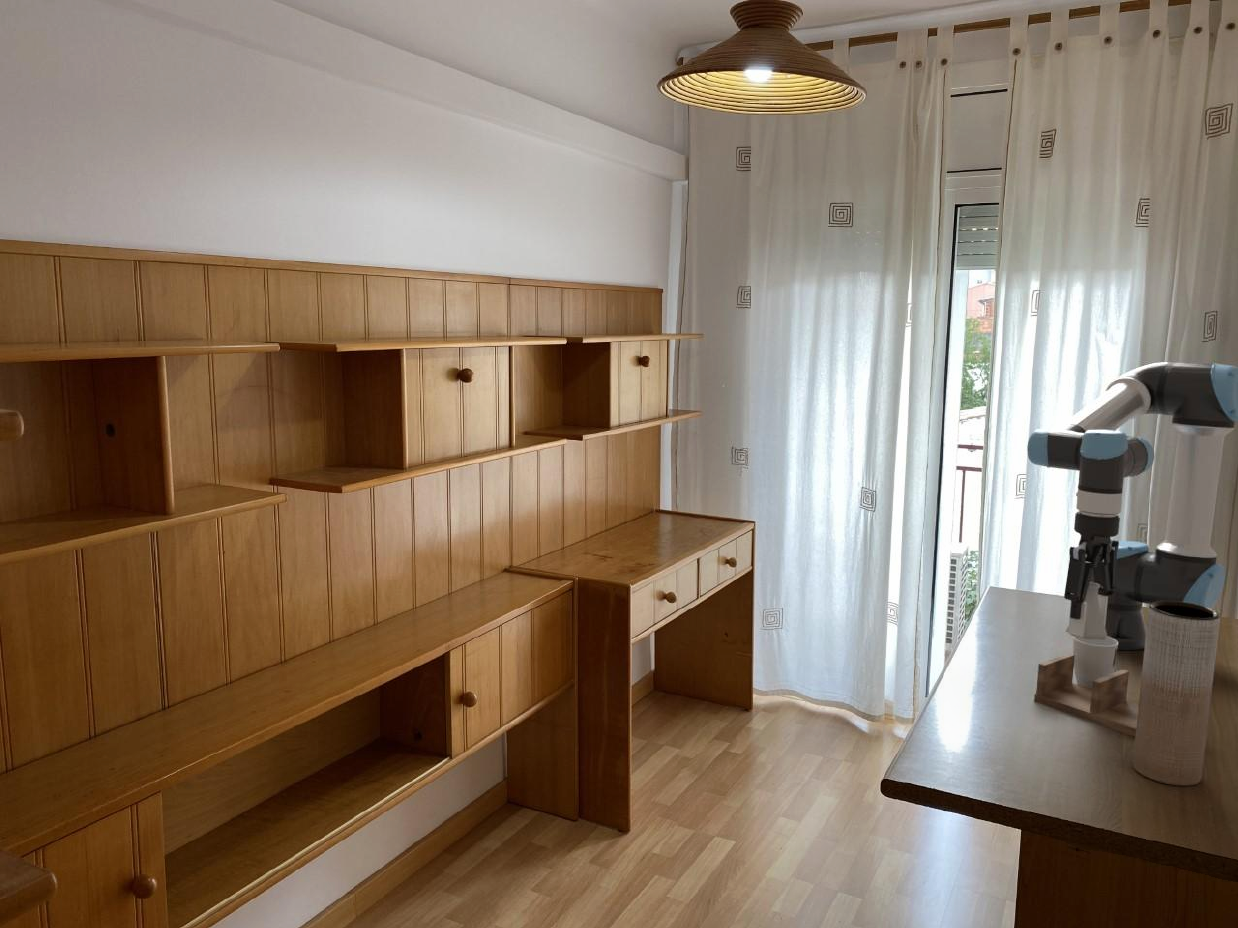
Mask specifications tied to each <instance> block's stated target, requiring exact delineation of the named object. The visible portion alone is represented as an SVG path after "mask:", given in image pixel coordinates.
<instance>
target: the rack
mask: <svg viewBox="0 0 1238 928" xmlns="http://www.w3.org/2000/svg"><path fill="white" fill-rule="evenodd" d="M1074 659H1075V655H1073V653H1066V654H1063V655H1060V656H1058V657H1054V658H1052V659H1049V660H1046V661H1043V662H1040V663H1038V668H1037V669H1038V670H1037V678H1036V679H1037V680H1036V688H1035V690H1036V691H1035V693H1034V697H1033V702H1034V703H1037V704H1040V705H1043V706H1045V707H1048V708H1052V709H1055V710H1057V711H1060V712H1064V713H1065V714H1069V715H1071V716H1074V717H1078V718H1081V719H1083V720H1086V721H1089V722H1090V723H1095V724H1097V725H1100V726H1103V727H1106V728H1109V729H1112V730H1115V731H1117V732H1120V733H1123V734H1126V735H1130V736H1132V737H1134V738H1135V736H1136V726H1137V717H1138V707H1139V703H1136V702H1133V701H1130V700H1127V694H1128V684H1129V677H1130V676H1129V675H1130V671H1129V670H1126V669H1119V670H1117V671H1115V672H1112V674H1109V675H1107V676H1104V677H1102V678H1099V679H1097V680H1094V681H1093V685H1092V689H1090V688H1087V687H1084V686H1080V685H1078V684H1077V683H1074V682H1073V680H1074Z"/></svg>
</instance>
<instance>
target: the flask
mask: <svg viewBox="0 0 1238 928" xmlns="http://www.w3.org/2000/svg"><path fill="white" fill-rule="evenodd" d="M1099 588H1100V585H1099V584H1098V583H1092V582H1090V583H1089V587H1088V590H1087V594H1086V598H1085V601H1084V602H1086V603H1087V610H1086V621H1085V632H1084V637H1080V636H1076V635H1073V634H1069V635H1070V636H1071V637H1074V636H1075V637H1080V638H1085V639H1099V640H1104V639H1105V638H1106V637H1107V633H1106V629H1105V626H1104V622H1103V619H1102V615H1101V612H1100V608H1099V603H1098V589H1099ZM1068 629H1069V624H1068V626H1067V628H1066V629H1065V632H1066V633H1068Z"/></svg>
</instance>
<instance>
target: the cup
mask: <svg viewBox="0 0 1238 928" xmlns="http://www.w3.org/2000/svg"><path fill="white" fill-rule="evenodd" d="M1072 644H1073V647H1072V649H1073V650H1072V654H1073V655H1075V659H1074V669H1073V672H1074V676H1075V679H1076V684H1077V685H1080V686H1084V687H1087V688H1090V689H1092V685H1093V681H1094V680H1097V679H1099V678H1102V677H1104V676H1107V675H1109V674H1112V673H1114V672H1113V671H1114V668H1115V664H1116V659H1117V652H1118V650H1117V648H1118V641H1117V640H1115V639H1113V638H1111V637H1108V636H1107V637H1106V638H1105V639H1104V640H1099V639H1085V638H1080V637H1075V636H1073V643H1072Z"/></svg>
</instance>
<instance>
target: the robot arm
mask: <svg viewBox="0 0 1238 928" xmlns="http://www.w3.org/2000/svg"><path fill="white" fill-rule="evenodd" d="M1147 414H1148V415H1149V414H1150V415H1164V416H1172V420H1171V425H1172V426H1173V427H1174V429H1175V430H1176V431H1177V432H1178V433H1177V443H1176V451H1175V459H1174V466H1173V475H1172V481H1171V482H1172V484H1171V491H1170V498H1169V506H1168V515H1167V521H1166V529H1165V537H1164V538H1165V539H1164V540H1163V541H1162V542H1160V543H1159V544H1157V545H1156V548H1155V552H1152V551H1150V547H1149V545H1148V544H1147V543H1144V542H1141V541H1133V540H1132V541H1131V540H1129V541H1128V540H1114V539H1111V538H1112V537H1113V538H1114V537H1116V536H1118V534H1119V530H1120V521H1121V518H1120V517H1119V514H1121V511H1122V502H1123V501H1122V500H1123V489H1124V478H1129V477H1130V478H1131V477H1138V476H1139V475H1140V474H1142V473H1145V472H1147V471H1148V470H1149V469H1150V468H1151V467H1152V465H1153V464H1154V461H1155V459H1156V458H1155V450H1154V448H1153V446H1152V445H1151V443H1150V442H1149V441H1148V440H1146V439H1144V438H1143V437H1139V436H1132V435H1130V436H1129V435H1128V436H1127V434H1126V433H1125V432H1123V431H1119V430H1118V429H1119V428H1121V427H1122V426H1123V425H1124V424H1126V423H1127V422H1128V421H1129V420H1133V419H1138V418H1140V417H1142V416H1144V415H1147ZM1237 422H1238V367H1237V366H1235V365H1229V364H1228V365H1227V364H1221V363H1197V362H1195V363H1194V362H1173V361H1161V362H1154V363H1149V364H1146V365H1144V366H1140V367H1137V368H1135V369H1132V370H1130V371H1128V372H1125V373H1124V374H1122V375H1121V376H1118V377H1117V378H1116V379H1114V380H1112V382H1110V383H1109V384H1108V386H1107V387H1106V390H1105V393H1103V394H1101V395H1100V396H1099V397H1097V398H1096V399H1095V400H1094V401H1092V402H1091V403H1089V404H1088V405H1087V406H1085V407H1084V408H1082V410H1080V411H1078V412H1077V413H1076V414H1074V415H1073V416H1071V417H1070V418H1069V419H1068V420H1066V421H1065V422H1064V423H1062V424H1061V425H1060V426H1057V428H1055V429H1049V428H1045V429H1043V428H1040V429H1039V428H1038V429H1036V430H1033V431H1032V433H1031V435H1030V436H1029V437H1028V441H1027V445H1026V446H1027V447H1026V448H1027V449H1026V450H1027V457H1028V459H1029V461H1030V462H1031V463H1032V464H1033V465H1035V466H1041V467H1047V468H1048V469H1050V468H1053V469H1062V470H1068V471H1069V470H1070V471H1077V472H1078V473H1079V474H1078V484H1077V492H1076V493H1075V496H1076V505H1075V506H1076V510H1077V511H1076V513H1075V515H1074V523H1073V524H1074V527H1073V529H1074V531H1075V532H1076V533H1078V534H1079V535H1080V539H1079V542H1078V546H1070V547H1069V551H1068V552H1069V562H1068V569H1067V575H1066V581H1065V588H1064V595H1063V598H1064V599H1065V600H1067V601H1070V608H1069V618H1068V619H1069V621H1068V625H1069V629H1068V632H1067V633H1068V634H1069V635H1070V634H1073V635H1076V636H1080V637H1084V632H1085V621H1086V610H1087V603H1086V602H1084V601H1085V598H1086V594H1087V590H1088V587H1089V583H1090V582H1092V583H1098V584H1099V585H1100V588H1099V589H1098V603H1099V608H1100V612H1101V615H1102V619H1103V622H1104V626H1105V629H1106V633H1107V636H1108V637H1111V638H1113V639H1115V640H1117V641H1118V648H1117V651H1118V650H1120V651H1136V650H1142V649H1145V640H1146V631H1147V625H1146V623H1145V619H1144V615H1143V604H1145V605H1150V604H1151V603H1153V602H1157V601H1178V602H1186V603H1192V604H1197V605H1201V606H1205V607H1208V608H1210V609H1213V608H1214V607H1215V605H1216V604H1217V602H1218V600H1219V598H1220V596H1221V593H1222V590H1223V588H1224V584H1225V581H1226V580H1225V579H1226V569H1225V567H1224V566H1223V565H1222V564H1220V563H1217V557H1218V554H1217V553H1216V551H1214V549H1213V548H1212V547H1211V542H1212V541H1211V539H1212V533H1213V527H1214V526H1213V525H1214V518H1215V517H1214V516H1215V510H1216V502H1217V495H1218V494H1217V493H1218V489H1219V488H1218V487H1219V481H1220V480H1219V479H1220V472H1221V467H1222V466H1221V463H1222V457H1223V451H1224V449H1223V448H1224V443H1225V437H1226V436H1227V435H1228V434H1229V433H1231V432H1232V431H1234V429H1235V423H1237Z"/></svg>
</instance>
